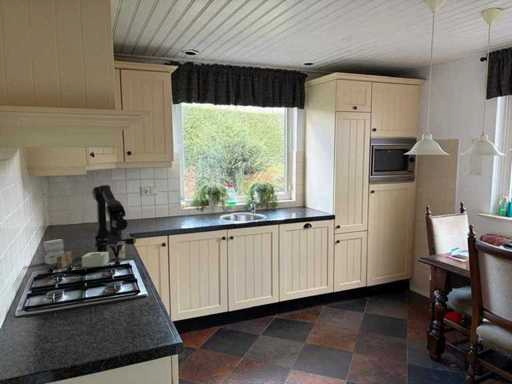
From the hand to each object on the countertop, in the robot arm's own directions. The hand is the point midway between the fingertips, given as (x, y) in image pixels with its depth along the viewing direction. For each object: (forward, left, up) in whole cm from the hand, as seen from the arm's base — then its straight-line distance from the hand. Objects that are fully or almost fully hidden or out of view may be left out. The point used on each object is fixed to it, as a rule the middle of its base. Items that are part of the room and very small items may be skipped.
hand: (117, 258), depth 196 cm
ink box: (-13, -37, -4) cm, 40 cm away
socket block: (0, -11, -3) cm, 11 cm away
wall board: (0, -11, -4) cm, 12 cm away
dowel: (-11, -1, -4) cm, 12 cm away
